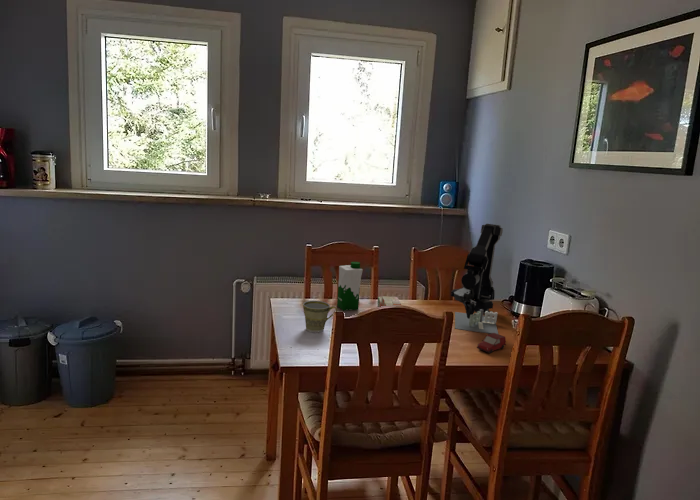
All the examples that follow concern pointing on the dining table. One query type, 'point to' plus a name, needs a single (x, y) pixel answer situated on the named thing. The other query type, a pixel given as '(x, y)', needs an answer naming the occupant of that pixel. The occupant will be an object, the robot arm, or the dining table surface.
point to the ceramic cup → (316, 315)
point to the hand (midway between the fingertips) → (468, 318)
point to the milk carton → (349, 286)
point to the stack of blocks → (388, 301)
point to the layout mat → (483, 327)
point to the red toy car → (492, 342)
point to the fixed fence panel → (488, 317)
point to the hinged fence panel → (474, 318)
